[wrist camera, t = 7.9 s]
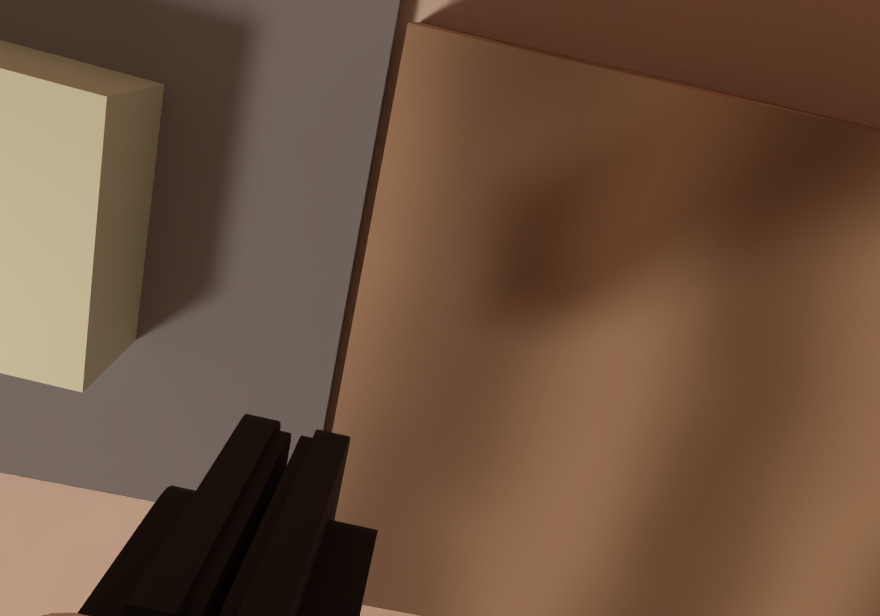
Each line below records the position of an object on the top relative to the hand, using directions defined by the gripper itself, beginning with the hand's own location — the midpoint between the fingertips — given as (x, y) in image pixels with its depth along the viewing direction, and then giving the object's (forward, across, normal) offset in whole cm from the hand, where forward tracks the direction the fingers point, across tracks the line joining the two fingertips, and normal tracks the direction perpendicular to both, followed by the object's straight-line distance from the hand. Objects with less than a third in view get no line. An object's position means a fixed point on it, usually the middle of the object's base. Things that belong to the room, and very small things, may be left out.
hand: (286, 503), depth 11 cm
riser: (+9, -9, 0) cm, 13 cm away
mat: (+9, +8, 0) cm, 12 cm away
